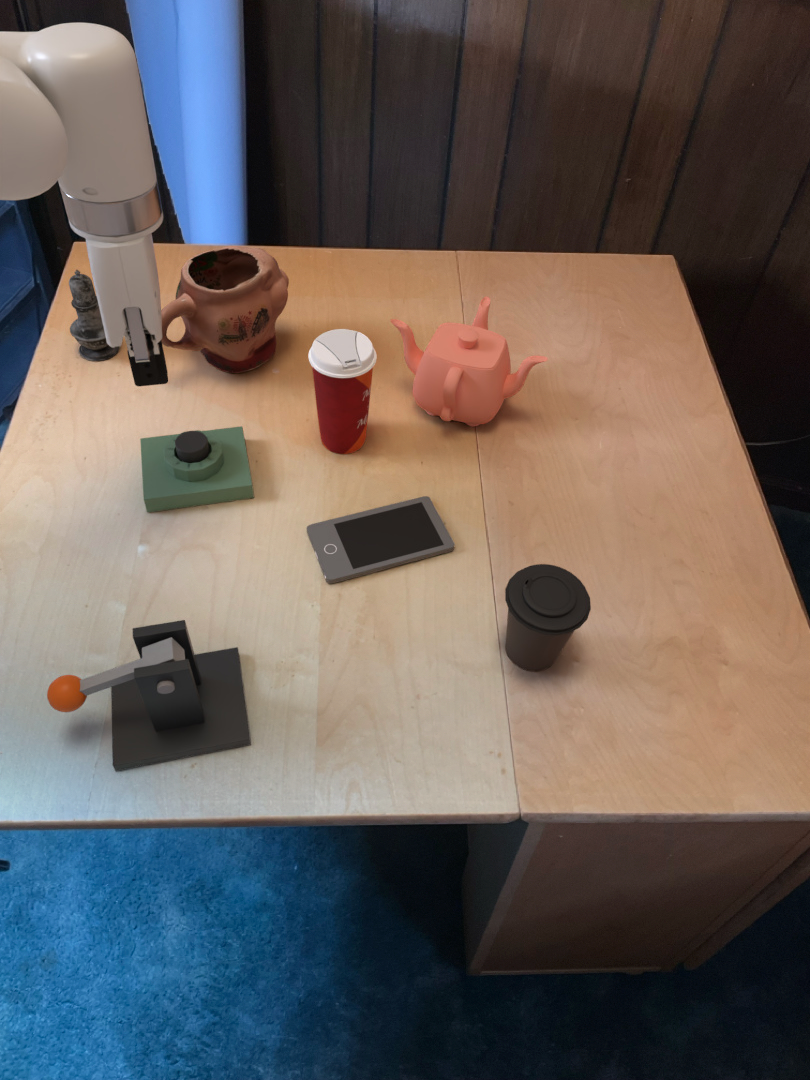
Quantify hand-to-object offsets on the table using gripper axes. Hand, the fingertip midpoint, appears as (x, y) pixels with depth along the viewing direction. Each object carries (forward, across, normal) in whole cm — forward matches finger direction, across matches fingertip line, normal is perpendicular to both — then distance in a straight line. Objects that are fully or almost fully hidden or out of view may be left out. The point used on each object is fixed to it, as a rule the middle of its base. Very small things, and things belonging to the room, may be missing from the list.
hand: (151, 379), depth 80 cm
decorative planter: (+17, -24, +9) cm, 31 cm away
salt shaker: (+17, -29, -8) cm, 35 cm away
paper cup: (+17, -6, +21) cm, 27 cm away
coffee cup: (+17, +28, +33) cm, 47 cm away
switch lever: (+11, +27, -6) cm, 30 cm away
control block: (+17, -3, +3) cm, 17 cm away
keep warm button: (+13, -3, +3) cm, 14 cm away
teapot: (+16, -11, +38) cm, 43 cm away
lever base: (+17, +28, -2) cm, 32 cm away
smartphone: (+17, +11, +22) cm, 29 cm away
